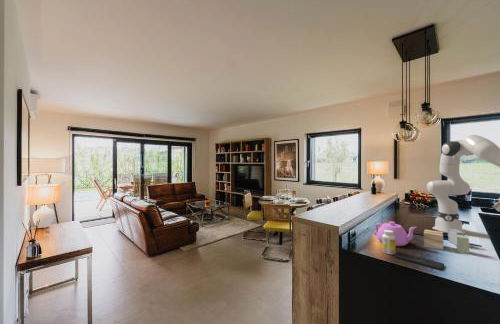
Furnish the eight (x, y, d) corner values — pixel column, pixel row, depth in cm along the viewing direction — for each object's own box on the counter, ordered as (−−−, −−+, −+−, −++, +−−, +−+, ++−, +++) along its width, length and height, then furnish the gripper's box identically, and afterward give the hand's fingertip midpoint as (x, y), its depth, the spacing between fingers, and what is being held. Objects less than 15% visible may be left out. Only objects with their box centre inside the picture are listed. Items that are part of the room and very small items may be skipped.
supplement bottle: (396, 252, 128) (396, 230, 128) (394, 256, 123) (394, 233, 123) (383, 249, 132) (383, 228, 132) (381, 252, 127) (380, 231, 127)
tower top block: (425, 236, 143) (424, 229, 143) (443, 239, 137) (443, 232, 137) (423, 239, 136) (423, 232, 136) (442, 243, 130) (442, 235, 130)
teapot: (368, 240, 148) (368, 220, 148) (379, 235, 159) (378, 216, 159) (413, 252, 128) (412, 229, 128) (421, 244, 139) (421, 223, 139)
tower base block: (424, 242, 143) (424, 236, 143) (443, 246, 137) (442, 239, 137) (424, 247, 136) (424, 239, 136) (443, 250, 130) (443, 243, 130)
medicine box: (465, 246, 135) (465, 232, 135) (457, 246, 136) (456, 232, 136) (456, 242, 143) (455, 229, 143) (448, 241, 144) (448, 228, 144)
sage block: (456, 249, 131) (456, 234, 131) (468, 251, 128) (467, 236, 128) (457, 251, 127) (456, 236, 127) (469, 254, 124) (468, 238, 124)
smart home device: (441, 268, 105) (394, 255, 121) (441, 272, 105) (394, 258, 121) (444, 263, 111) (398, 251, 126) (444, 266, 111) (398, 254, 126)
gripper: (511, 186, 122) (486, 202, 128) (521, 190, 107) (492, 207, 113) (524, 195, 119) (497, 210, 125) (536, 200, 104) (506, 217, 110)
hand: (495, 209), depth 119 cm, fingers open, 8 cm apart
